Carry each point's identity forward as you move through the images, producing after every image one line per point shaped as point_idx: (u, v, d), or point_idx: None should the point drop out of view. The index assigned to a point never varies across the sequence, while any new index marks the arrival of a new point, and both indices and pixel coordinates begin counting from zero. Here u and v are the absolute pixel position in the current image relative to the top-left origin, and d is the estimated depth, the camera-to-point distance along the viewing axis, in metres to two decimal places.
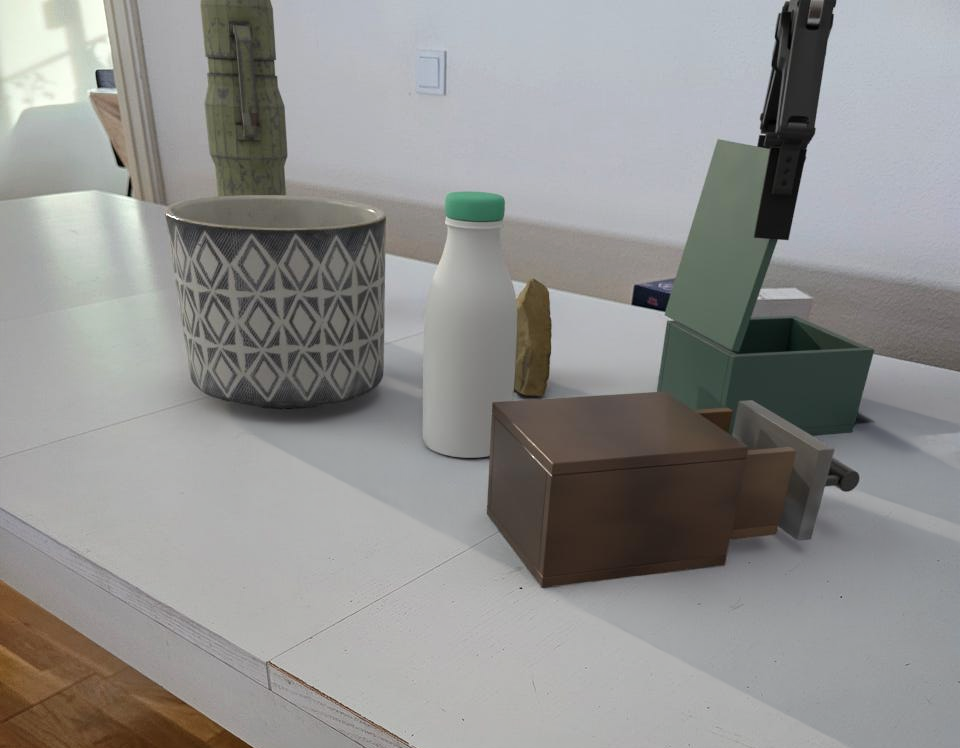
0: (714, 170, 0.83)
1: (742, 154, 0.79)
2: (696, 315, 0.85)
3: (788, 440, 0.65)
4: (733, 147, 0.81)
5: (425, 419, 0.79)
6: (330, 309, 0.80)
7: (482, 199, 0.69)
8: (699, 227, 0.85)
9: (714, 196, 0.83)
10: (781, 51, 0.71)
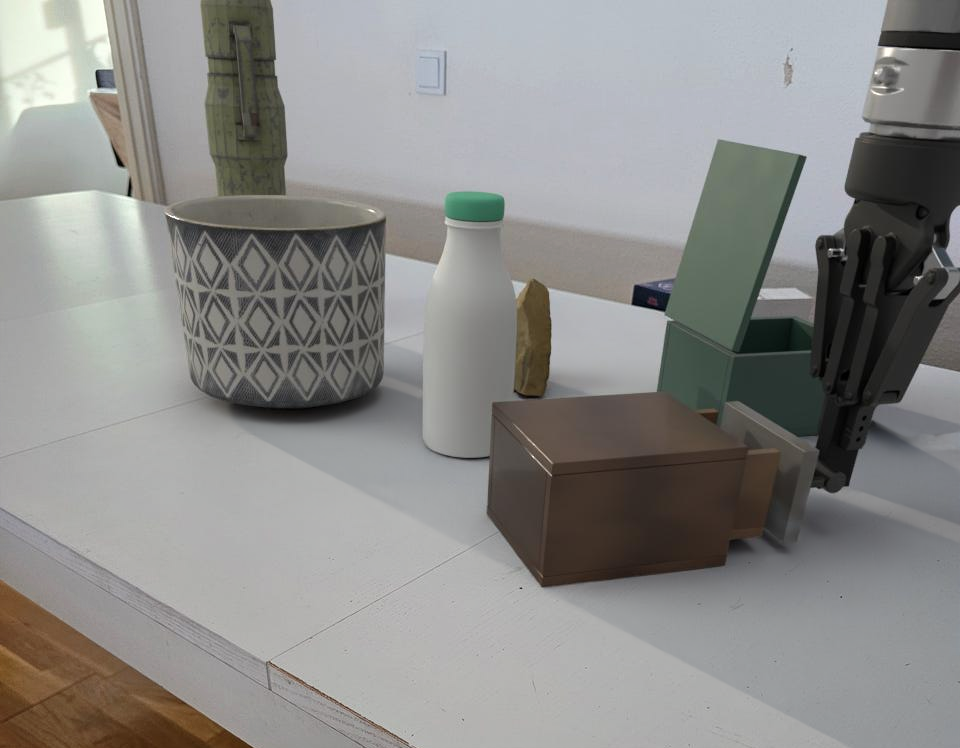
0: (714, 170, 0.83)
1: (742, 154, 0.79)
2: (696, 315, 0.85)
3: (774, 441, 0.65)
4: (733, 147, 0.81)
5: (425, 419, 0.79)
6: (330, 309, 0.80)
7: (482, 199, 0.69)
8: (699, 227, 0.85)
9: (714, 196, 0.83)
10: (876, 299, 0.61)
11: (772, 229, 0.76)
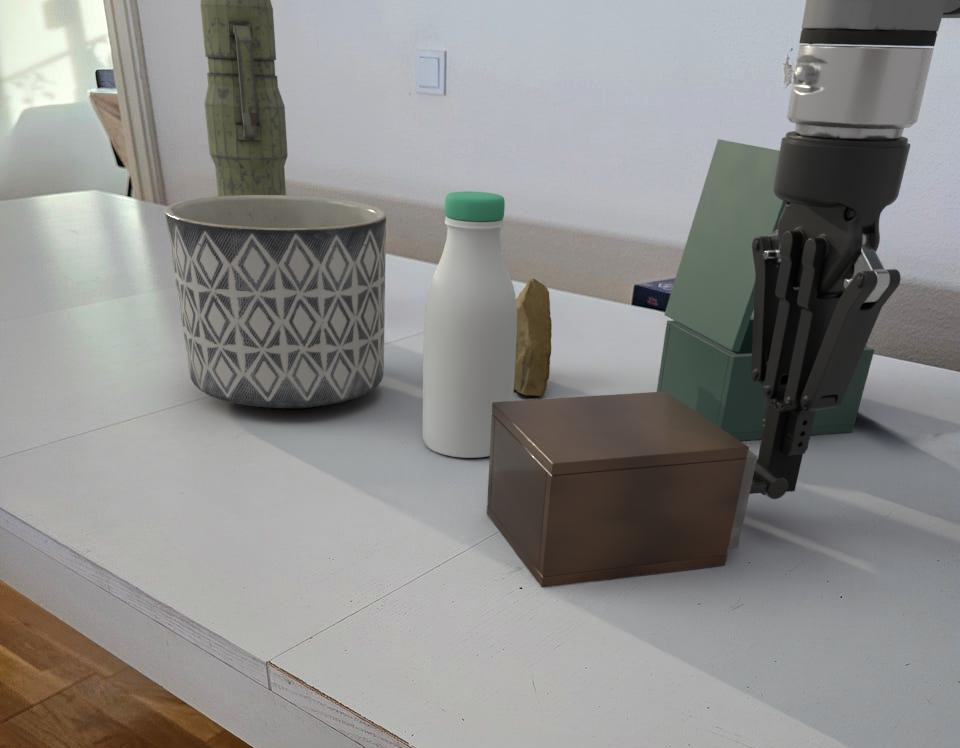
0: (714, 170, 0.83)
1: (742, 154, 0.79)
2: (696, 315, 0.85)
3: None
4: (733, 147, 0.81)
5: (425, 419, 0.79)
6: (330, 309, 0.80)
7: (482, 199, 0.69)
8: (699, 227, 0.85)
9: (714, 196, 0.83)
10: (809, 302, 0.60)
11: (772, 229, 0.76)
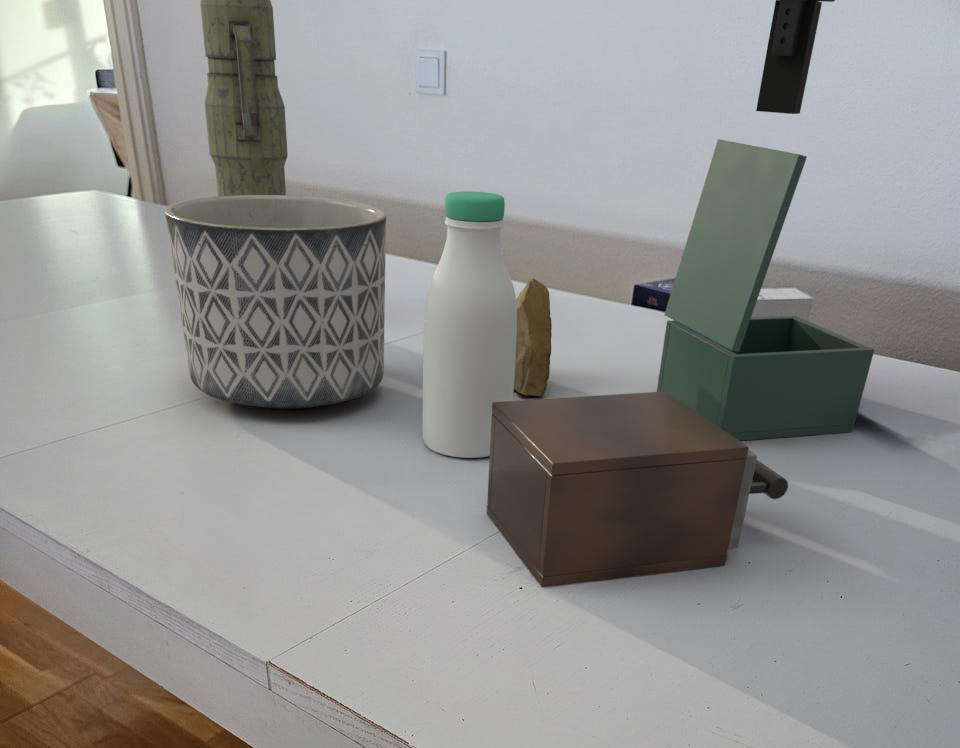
0: (714, 170, 0.83)
1: (742, 154, 0.79)
2: (696, 315, 0.85)
3: None
4: (733, 147, 0.81)
5: (425, 419, 0.79)
6: (330, 309, 0.80)
7: (482, 199, 0.69)
8: (699, 227, 0.85)
9: (714, 196, 0.83)
10: None
11: (772, 229, 0.76)
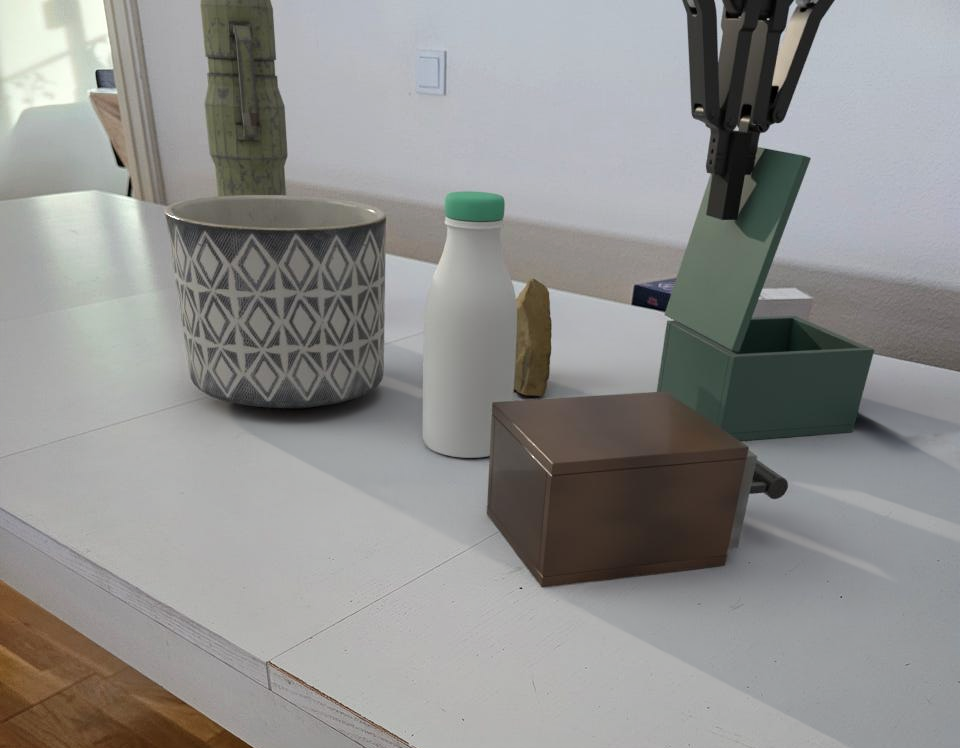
0: None
1: None
2: (696, 315, 0.85)
3: None
4: None
5: (425, 419, 0.79)
6: (330, 309, 0.80)
7: (482, 199, 0.69)
8: (701, 227, 0.85)
9: None
10: (721, 21, 0.73)
11: (775, 230, 0.76)
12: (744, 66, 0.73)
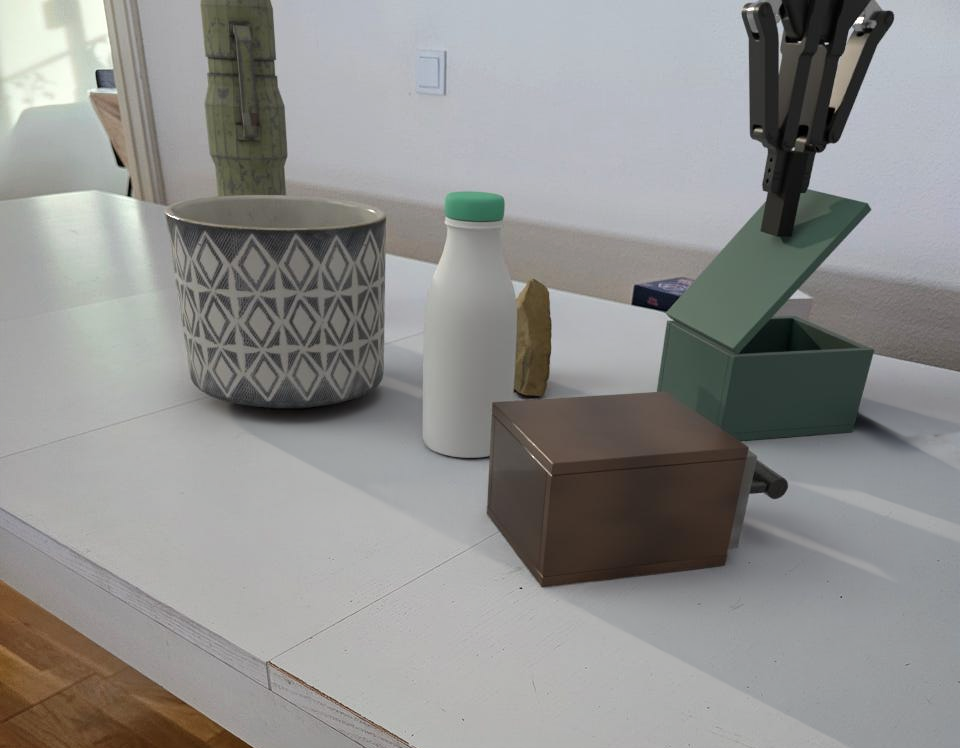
0: None
1: (805, 196, 0.83)
2: (702, 316, 0.85)
3: None
4: None
5: (425, 419, 0.79)
6: (330, 309, 0.80)
7: (482, 199, 0.69)
8: (735, 247, 0.87)
9: None
10: None
11: (816, 256, 0.78)
12: (803, 89, 0.75)
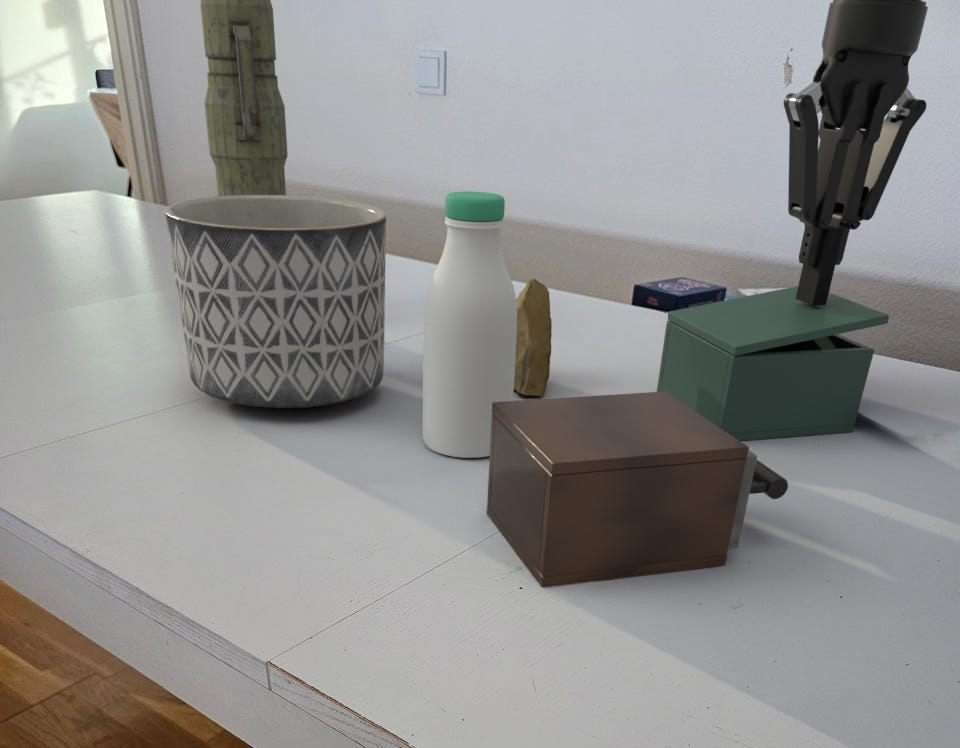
0: (791, 290, 0.92)
1: (828, 296, 0.89)
2: (708, 323, 0.86)
3: None
4: None
5: (425, 419, 0.79)
6: (330, 309, 0.80)
7: (482, 199, 0.69)
8: (751, 300, 0.91)
9: (781, 297, 0.90)
10: (819, 130, 0.80)
11: (834, 325, 0.82)
12: (840, 172, 0.80)
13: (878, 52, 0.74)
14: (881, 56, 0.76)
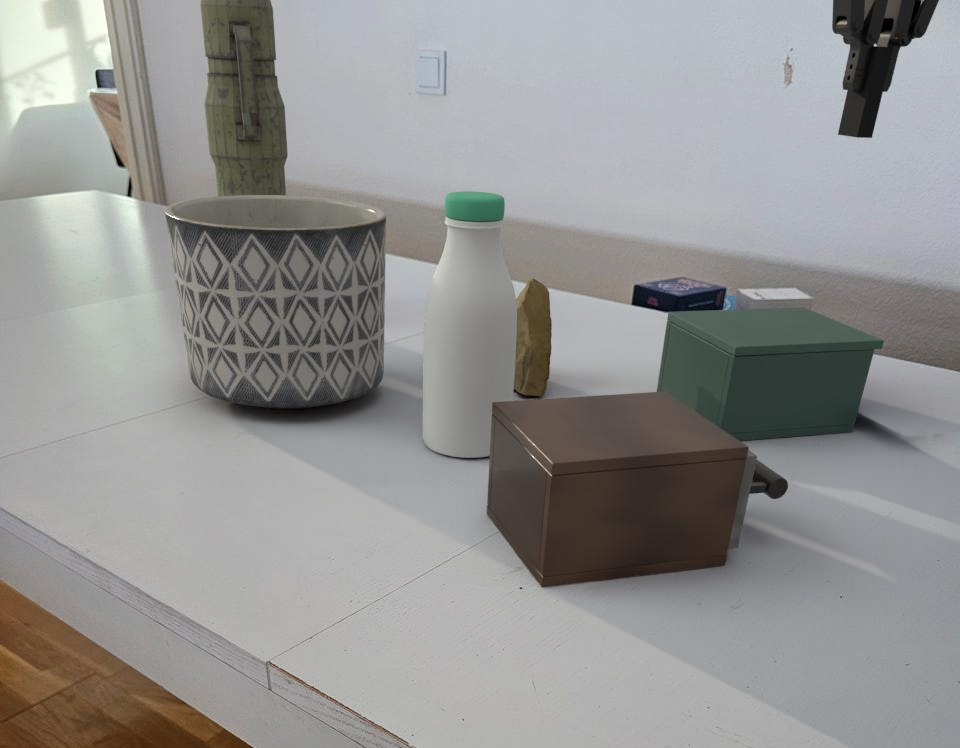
0: (789, 310, 0.93)
1: (825, 319, 0.90)
2: (708, 325, 0.86)
3: None
4: (818, 314, 0.92)
5: (425, 419, 0.79)
6: (330, 309, 0.80)
7: (482, 199, 0.69)
8: (750, 312, 0.91)
9: (779, 314, 0.91)
10: None
11: (831, 342, 0.83)
12: None
13: None
14: None
